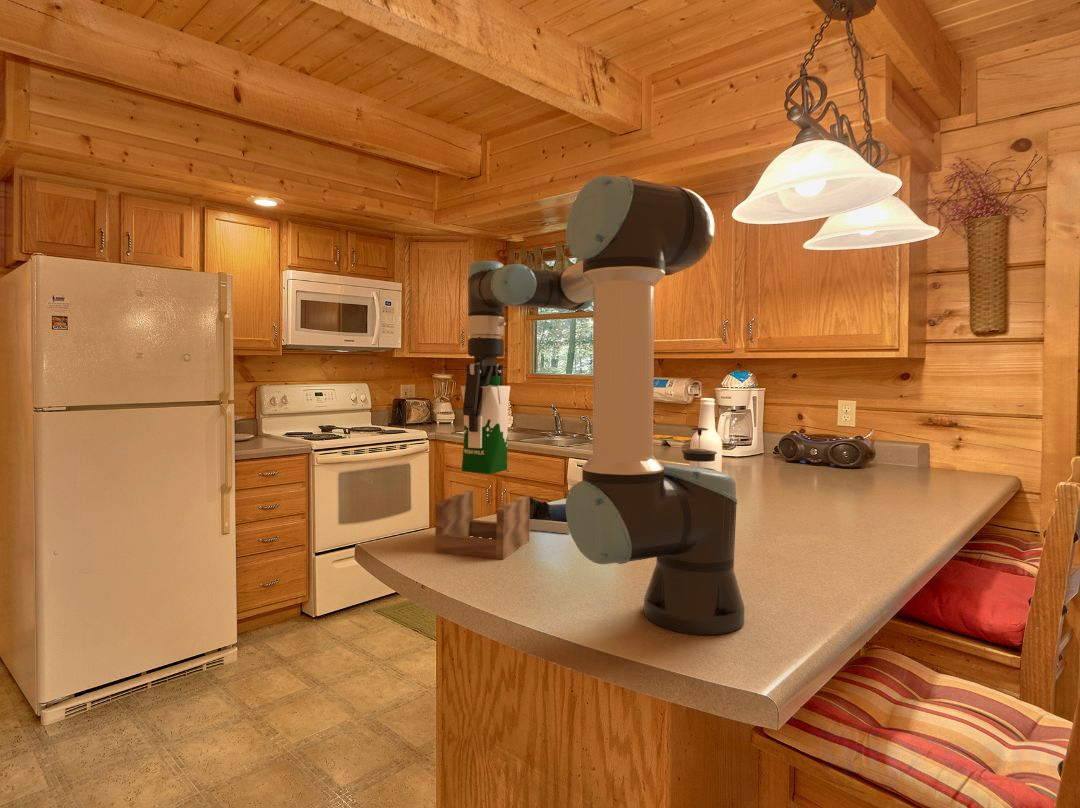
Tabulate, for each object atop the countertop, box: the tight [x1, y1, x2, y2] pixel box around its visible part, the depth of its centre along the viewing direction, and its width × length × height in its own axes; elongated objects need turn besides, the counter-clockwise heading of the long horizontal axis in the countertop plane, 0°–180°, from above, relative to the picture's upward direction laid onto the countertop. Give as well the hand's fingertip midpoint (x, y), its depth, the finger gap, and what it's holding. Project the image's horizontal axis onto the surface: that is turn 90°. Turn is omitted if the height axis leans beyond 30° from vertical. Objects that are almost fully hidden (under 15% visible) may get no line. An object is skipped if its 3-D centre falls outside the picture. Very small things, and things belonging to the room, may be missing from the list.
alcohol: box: [689, 397, 723, 472], centre depth 185 cm, size 9×9×30 cm
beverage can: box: [530, 497, 567, 522], centre depth 160 cm, size 9×8×12 cm
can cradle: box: [529, 515, 571, 535], centre depth 160 cm, size 15×12×2 cm
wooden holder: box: [434, 490, 531, 561], centre depth 139 cm, size 15×15×10 cm
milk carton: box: [460, 376, 511, 475], centre depth 138 cm, size 9×9×20 cm
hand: (484, 445), depth 138 cm, fingers closed on milk carton, 9 cm apart
